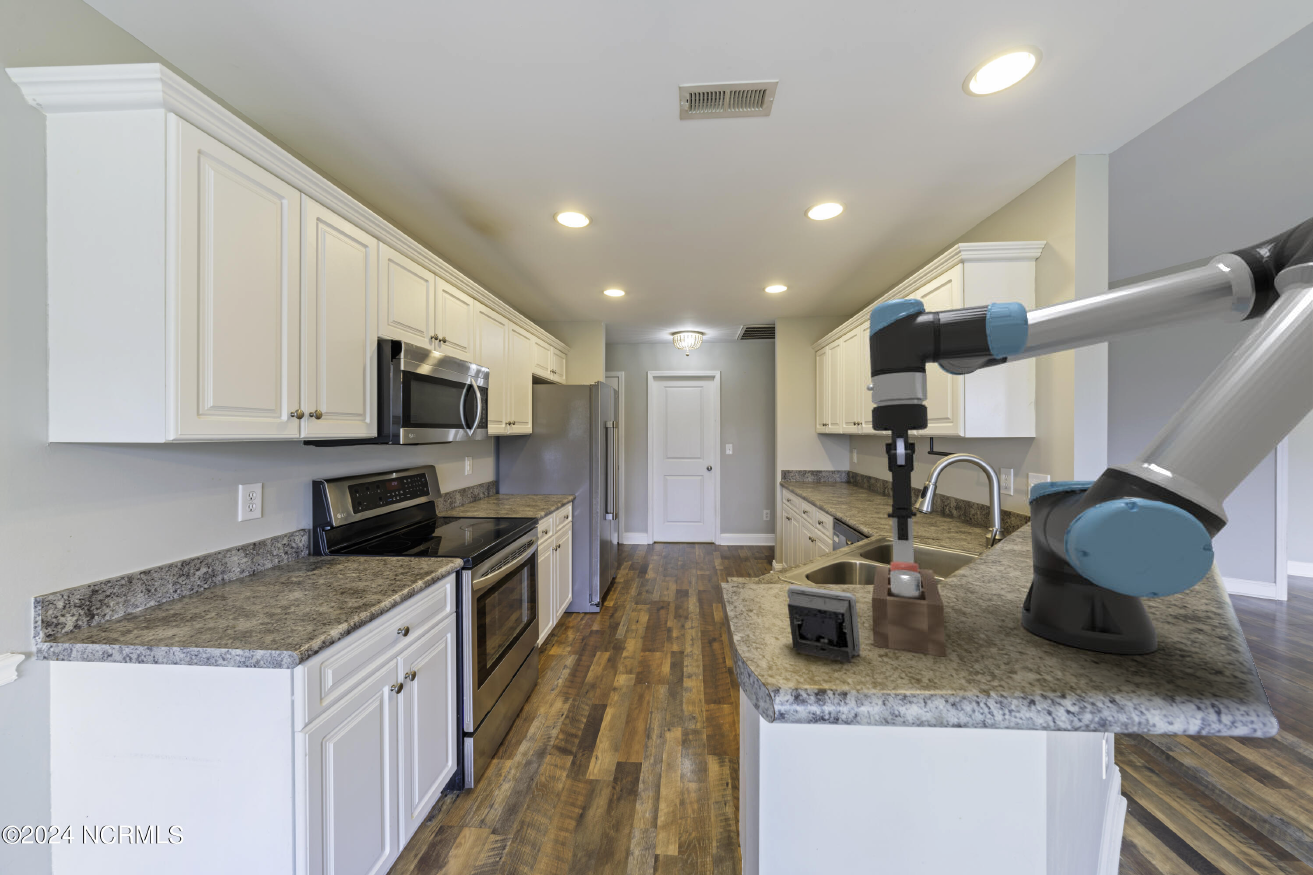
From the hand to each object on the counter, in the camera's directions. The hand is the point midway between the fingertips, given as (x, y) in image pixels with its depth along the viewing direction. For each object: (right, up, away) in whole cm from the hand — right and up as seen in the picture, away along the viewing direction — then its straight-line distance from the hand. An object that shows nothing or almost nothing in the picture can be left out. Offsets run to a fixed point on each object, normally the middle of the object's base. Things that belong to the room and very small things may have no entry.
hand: (903, 560), depth 70 cm
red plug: (+3, -8, +6) cm, 10 cm away
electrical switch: (-13, -12, -4) cm, 19 cm away
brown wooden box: (+3, -12, +5) cm, 14 cm away
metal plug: (0, -8, 0) cm, 8 cm away
